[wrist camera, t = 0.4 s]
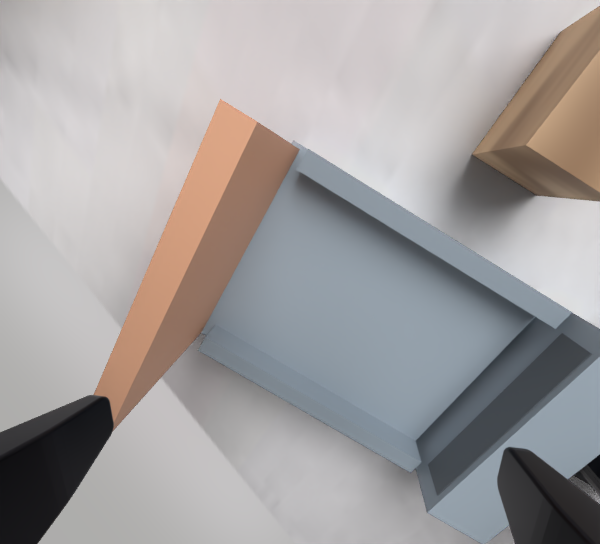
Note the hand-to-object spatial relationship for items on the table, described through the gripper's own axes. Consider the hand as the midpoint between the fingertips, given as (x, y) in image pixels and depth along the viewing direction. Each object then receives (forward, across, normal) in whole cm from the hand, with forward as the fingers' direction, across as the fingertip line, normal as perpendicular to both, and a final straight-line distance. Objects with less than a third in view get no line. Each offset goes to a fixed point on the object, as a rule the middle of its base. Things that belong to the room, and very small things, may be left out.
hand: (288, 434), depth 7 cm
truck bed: (+12, -3, +3) cm, 13 cm away
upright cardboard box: (+13, -10, -9) cm, 18 cm away
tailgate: (+10, +5, -2) cm, 11 cm away
